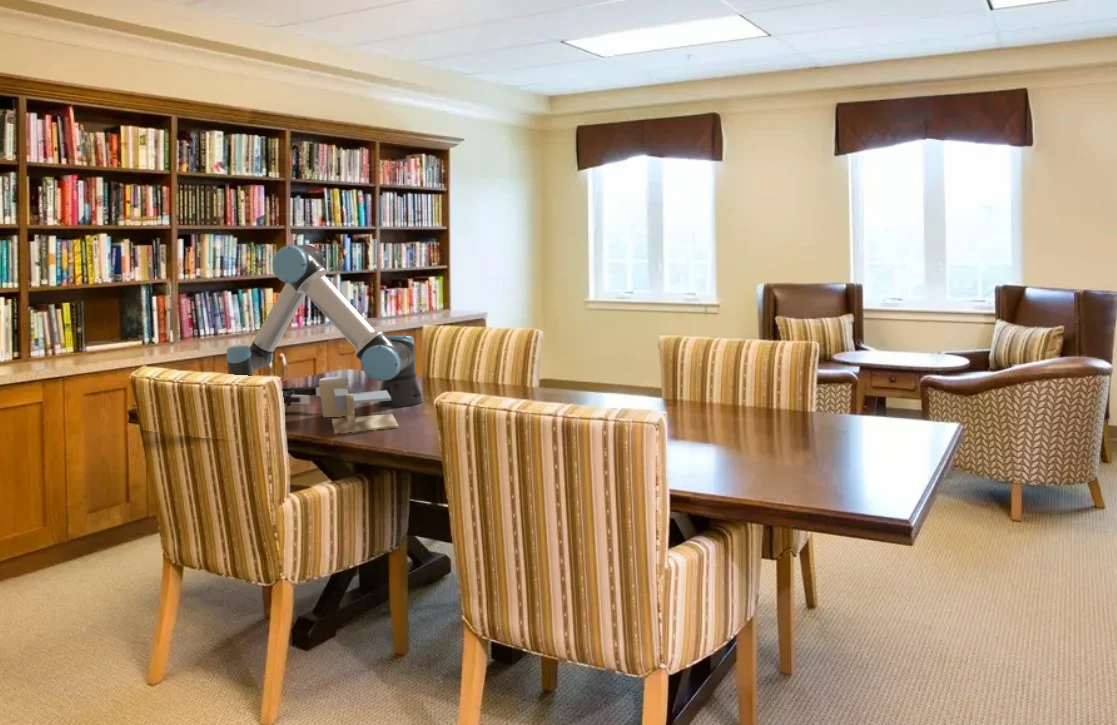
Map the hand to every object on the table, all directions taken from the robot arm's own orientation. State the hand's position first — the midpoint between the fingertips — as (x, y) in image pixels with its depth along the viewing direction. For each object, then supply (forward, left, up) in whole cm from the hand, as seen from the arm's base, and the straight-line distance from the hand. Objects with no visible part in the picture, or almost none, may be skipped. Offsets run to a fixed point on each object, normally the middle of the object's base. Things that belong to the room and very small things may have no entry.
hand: (322, 395), depth 293 cm
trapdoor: (-11, +21, 0) cm, 24 cm away
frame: (-12, +21, -6) cm, 25 cm away
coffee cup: (-4, +2, -7) cm, 8 cm away
